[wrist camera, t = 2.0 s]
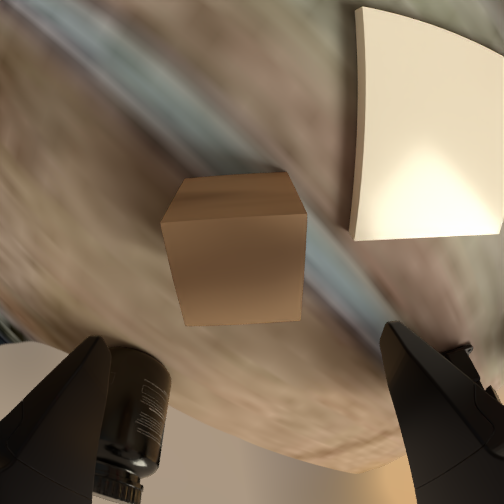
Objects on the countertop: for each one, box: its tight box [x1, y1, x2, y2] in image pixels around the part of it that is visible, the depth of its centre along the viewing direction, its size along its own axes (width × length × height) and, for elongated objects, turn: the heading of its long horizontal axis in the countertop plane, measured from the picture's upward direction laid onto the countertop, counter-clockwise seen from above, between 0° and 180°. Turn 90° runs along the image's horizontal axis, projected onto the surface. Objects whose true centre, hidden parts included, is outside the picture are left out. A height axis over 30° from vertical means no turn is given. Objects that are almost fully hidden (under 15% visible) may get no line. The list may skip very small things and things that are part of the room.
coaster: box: [349, 6, 504, 241], centre depth 12 cm, size 12×12×1 cm
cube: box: [160, 172, 307, 326], centre depth 13 cm, size 5×5×5 cm
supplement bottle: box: [92, 347, 171, 504], centre depth 17 cm, size 7×7×12 cm
